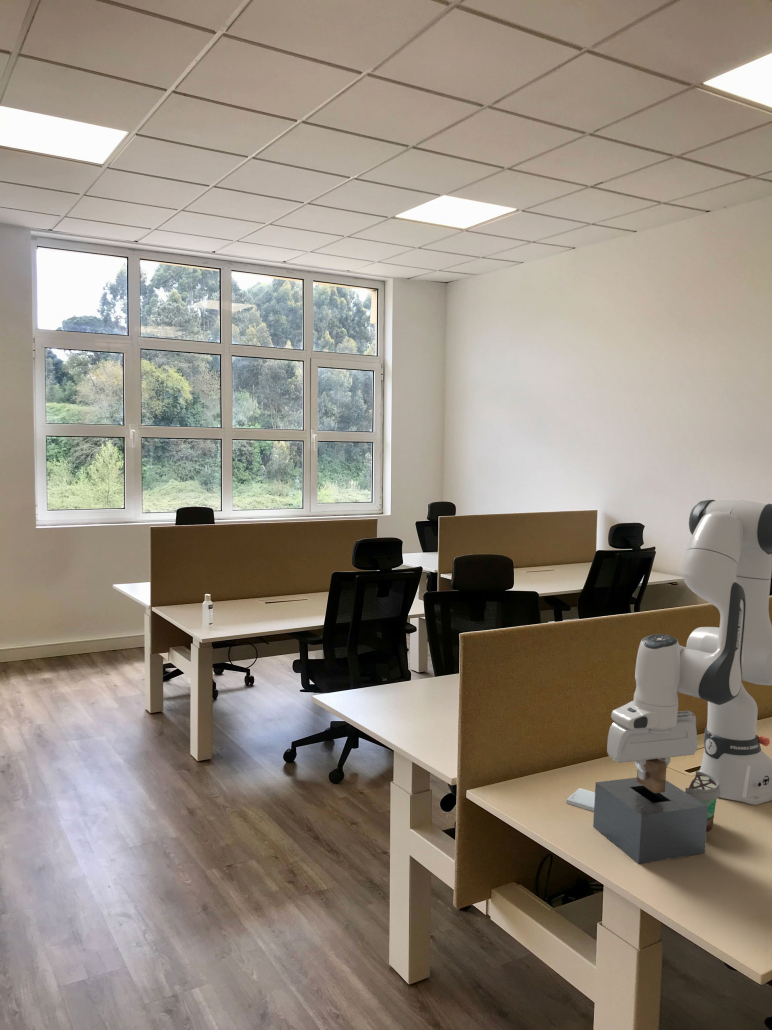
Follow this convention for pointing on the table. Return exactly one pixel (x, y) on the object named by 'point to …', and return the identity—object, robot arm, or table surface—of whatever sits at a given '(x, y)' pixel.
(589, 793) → the hard drive
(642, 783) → the walnut tile
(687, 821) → the coin box
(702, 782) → the food container
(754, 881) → the table surface
